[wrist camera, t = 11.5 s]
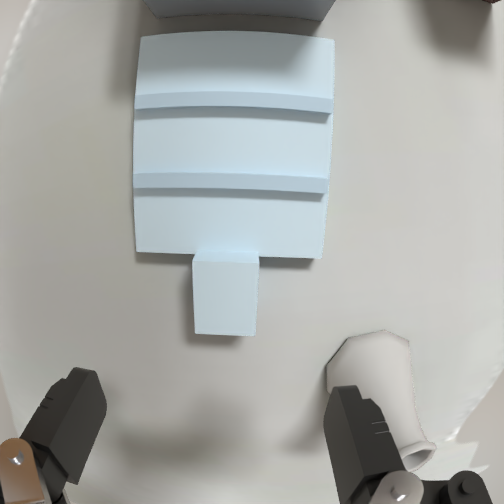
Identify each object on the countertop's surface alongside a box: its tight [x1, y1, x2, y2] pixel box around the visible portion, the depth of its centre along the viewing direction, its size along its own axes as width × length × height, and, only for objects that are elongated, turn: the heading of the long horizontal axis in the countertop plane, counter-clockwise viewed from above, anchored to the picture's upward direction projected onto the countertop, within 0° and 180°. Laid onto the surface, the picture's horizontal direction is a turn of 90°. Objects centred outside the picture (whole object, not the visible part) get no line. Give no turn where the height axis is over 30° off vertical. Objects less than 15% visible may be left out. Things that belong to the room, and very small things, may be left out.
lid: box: [133, 31, 335, 336], centre depth 16 cm, size 17×11×3 cm, turn 178°
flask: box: [327, 330, 437, 472], centre depth 18 cm, size 7×7×10 cm
